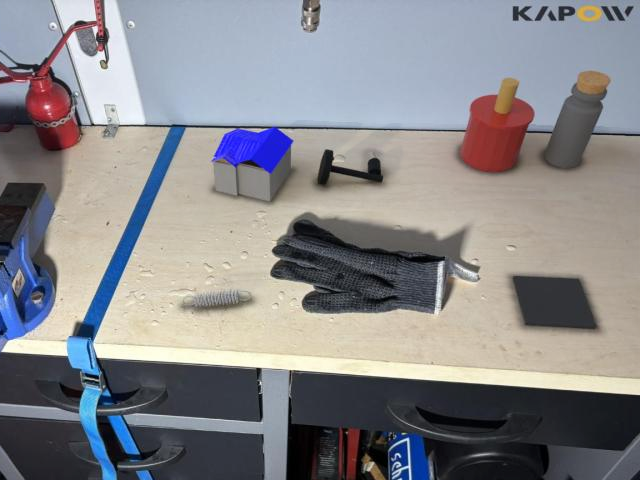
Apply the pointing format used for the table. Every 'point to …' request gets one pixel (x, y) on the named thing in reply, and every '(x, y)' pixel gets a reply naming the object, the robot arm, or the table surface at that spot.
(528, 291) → the mat
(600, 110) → the bottle
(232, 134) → the house
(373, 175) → the light fixture
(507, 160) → the tin
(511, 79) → the tin lid
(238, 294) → the spring
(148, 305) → the table surface
